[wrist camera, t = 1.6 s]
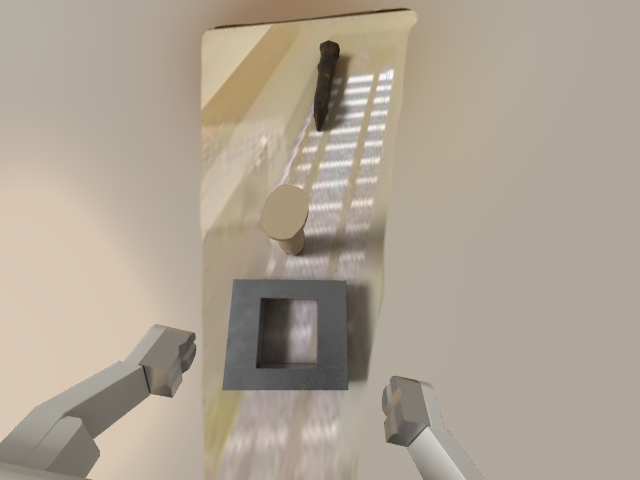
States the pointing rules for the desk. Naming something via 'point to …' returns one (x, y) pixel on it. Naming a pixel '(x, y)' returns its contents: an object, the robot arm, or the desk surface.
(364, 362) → the desk surface
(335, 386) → the jig
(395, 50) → the desk surface
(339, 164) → the desk surface
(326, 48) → the hand tool
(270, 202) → the handle
